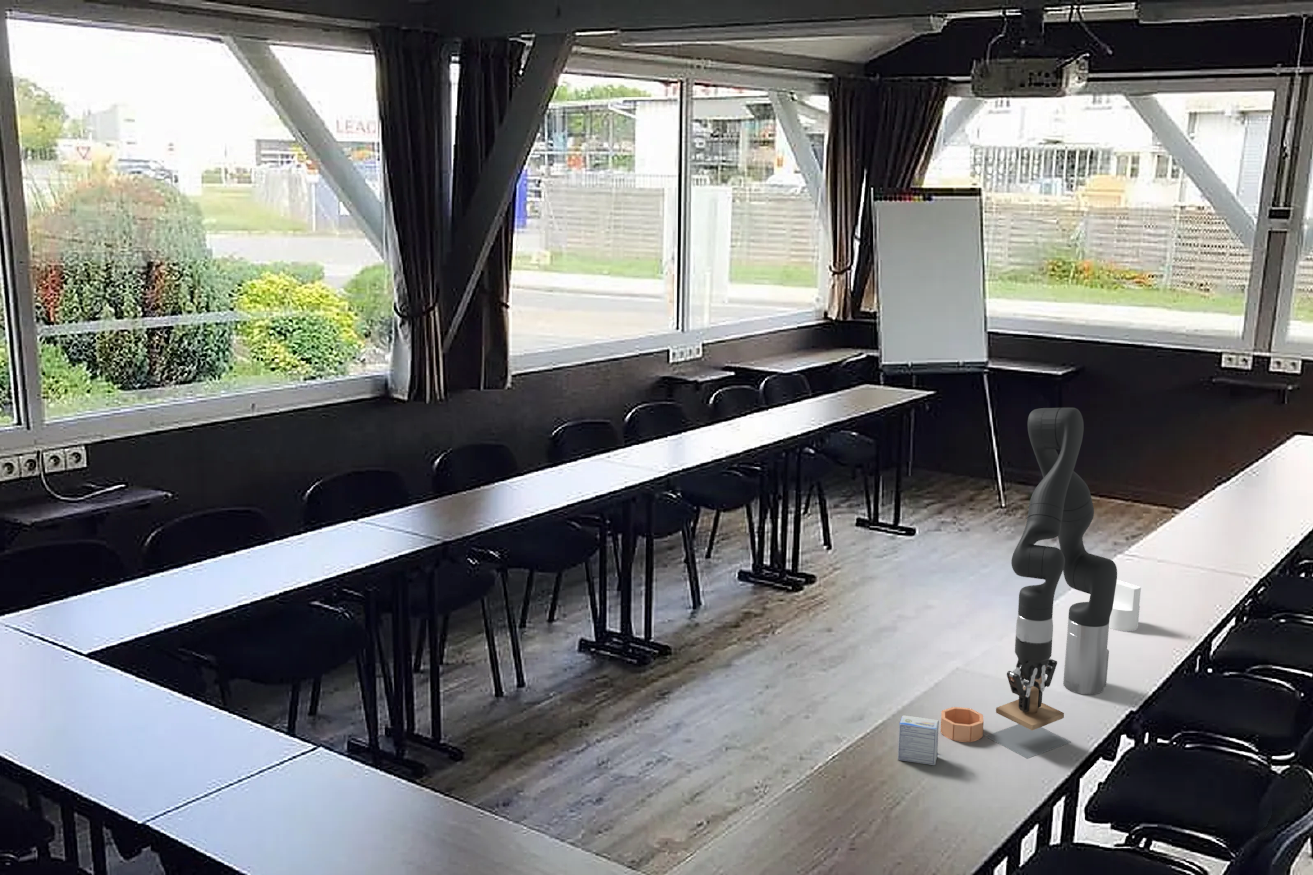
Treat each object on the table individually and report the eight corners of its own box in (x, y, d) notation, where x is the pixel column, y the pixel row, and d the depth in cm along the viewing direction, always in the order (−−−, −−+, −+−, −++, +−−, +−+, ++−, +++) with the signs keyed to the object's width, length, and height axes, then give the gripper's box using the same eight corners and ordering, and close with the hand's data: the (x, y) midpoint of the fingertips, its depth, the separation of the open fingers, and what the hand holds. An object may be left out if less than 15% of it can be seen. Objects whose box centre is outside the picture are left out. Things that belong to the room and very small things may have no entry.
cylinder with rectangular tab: (1144, 626, 325) (1148, 585, 322) (1124, 634, 320) (1128, 591, 317) (1115, 616, 332) (1119, 575, 330) (1095, 623, 327) (1099, 582, 325)
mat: (1028, 722, 270) (1028, 720, 270) (1071, 744, 260) (1071, 741, 260) (984, 738, 262) (984, 736, 262) (1026, 760, 253) (1027, 758, 252)
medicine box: (937, 756, 254) (939, 719, 252) (935, 766, 250) (937, 728, 248) (900, 751, 257) (901, 714, 255) (897, 760, 253) (899, 723, 251)
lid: (1027, 700, 266) (1028, 675, 264) (1063, 718, 258) (1065, 691, 256) (995, 712, 261) (997, 686, 259) (1032, 730, 252) (1033, 703, 251)
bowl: (960, 722, 270) (961, 704, 269) (990, 738, 263) (992, 719, 262) (931, 732, 266) (932, 713, 265) (961, 748, 258) (962, 729, 257)
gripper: (1042, 621, 261) (1038, 694, 265) (997, 636, 254) (994, 710, 258) (1070, 632, 255) (1065, 706, 259) (1025, 648, 248) (1021, 724, 252)
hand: (1029, 708), depth 259 cm, fingers closed on lid, 3 cm apart
